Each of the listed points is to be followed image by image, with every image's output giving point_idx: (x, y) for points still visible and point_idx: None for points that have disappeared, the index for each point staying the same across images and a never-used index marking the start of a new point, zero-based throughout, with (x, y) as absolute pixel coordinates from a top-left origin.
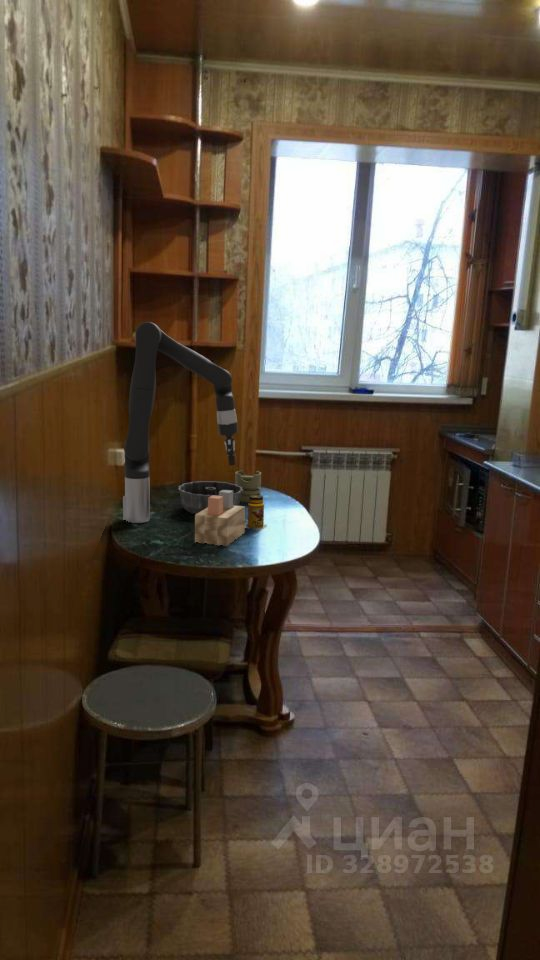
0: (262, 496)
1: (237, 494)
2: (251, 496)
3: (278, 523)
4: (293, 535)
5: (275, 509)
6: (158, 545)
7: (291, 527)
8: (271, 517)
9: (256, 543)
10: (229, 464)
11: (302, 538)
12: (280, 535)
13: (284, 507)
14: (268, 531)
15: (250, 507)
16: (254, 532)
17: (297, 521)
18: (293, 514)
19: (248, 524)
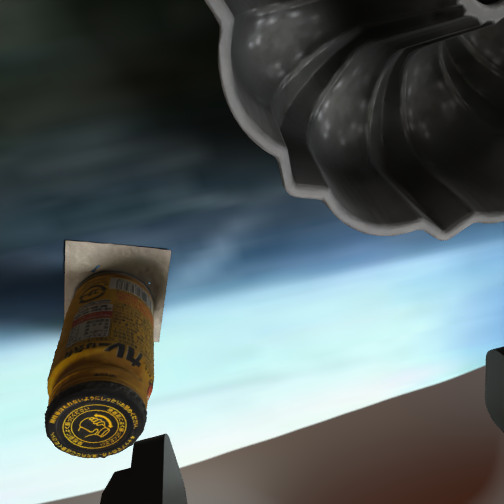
0: (114, 453)
1: (361, 218)
2: (84, 403)
3: (203, 372)
4: (34, 456)
5: (436, 312)
6: None
7: (154, 425)
8: (298, 327)
9: None
10: (133, 451)
11: (5, 488)
12: (8, 420)
13: (469, 336)
14: None
15: (56, 359)
16: (3, 322)
17: (253, 421)
18: (359, 387)
19: (83, 286)
